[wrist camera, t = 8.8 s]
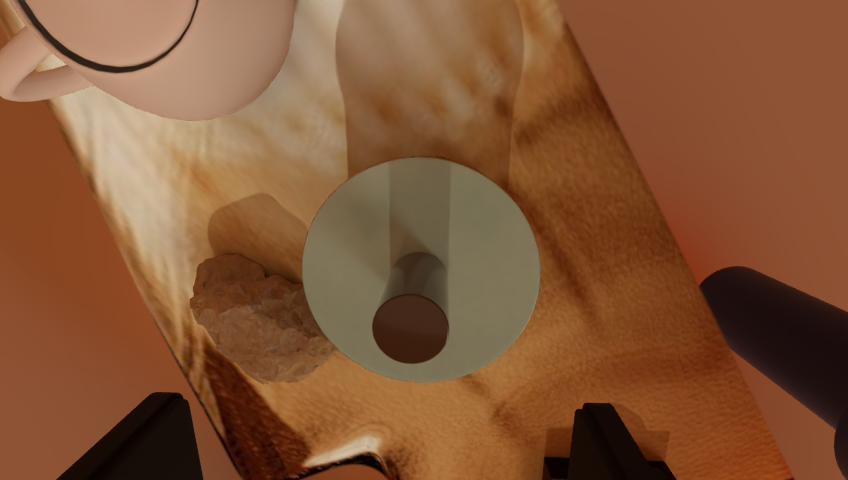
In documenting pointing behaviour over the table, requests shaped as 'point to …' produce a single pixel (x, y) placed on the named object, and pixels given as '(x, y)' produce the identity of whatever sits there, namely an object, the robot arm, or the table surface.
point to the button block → (558, 467)
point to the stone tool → (258, 320)
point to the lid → (421, 269)
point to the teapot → (150, 52)
